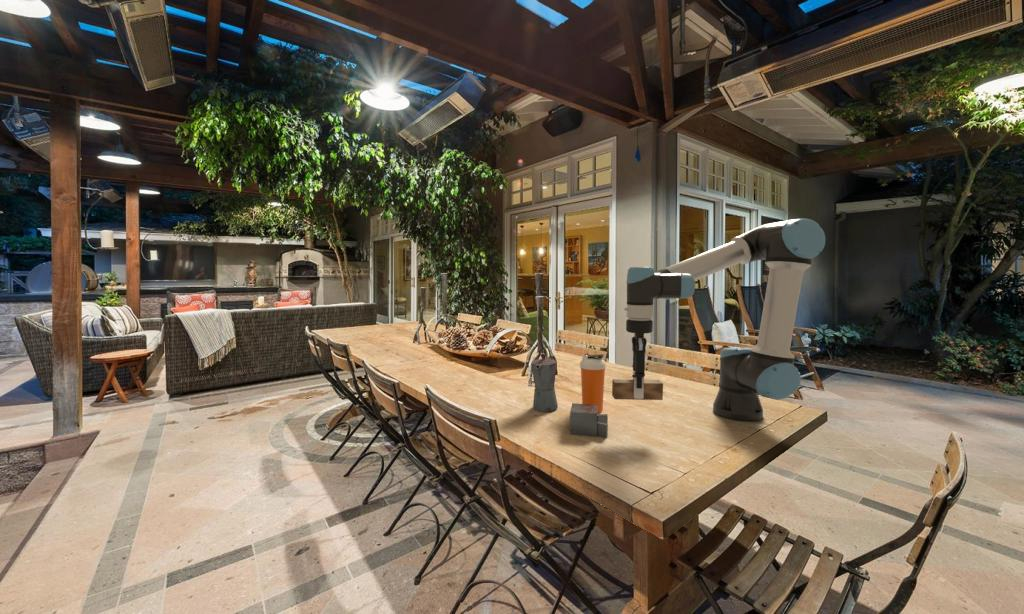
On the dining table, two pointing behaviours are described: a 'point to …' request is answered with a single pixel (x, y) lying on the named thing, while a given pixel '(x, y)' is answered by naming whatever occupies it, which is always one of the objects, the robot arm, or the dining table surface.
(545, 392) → the moka pot
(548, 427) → the dining table surface
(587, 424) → the end cap
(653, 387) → the brown wooden block
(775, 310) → the robot arm
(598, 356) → the shaker bottle
